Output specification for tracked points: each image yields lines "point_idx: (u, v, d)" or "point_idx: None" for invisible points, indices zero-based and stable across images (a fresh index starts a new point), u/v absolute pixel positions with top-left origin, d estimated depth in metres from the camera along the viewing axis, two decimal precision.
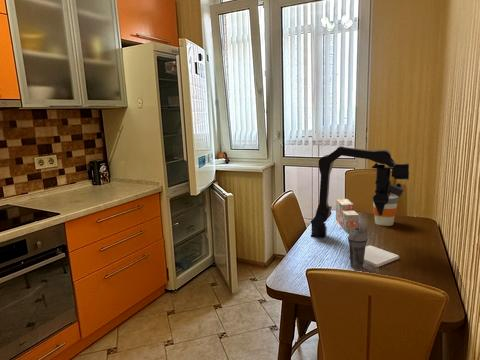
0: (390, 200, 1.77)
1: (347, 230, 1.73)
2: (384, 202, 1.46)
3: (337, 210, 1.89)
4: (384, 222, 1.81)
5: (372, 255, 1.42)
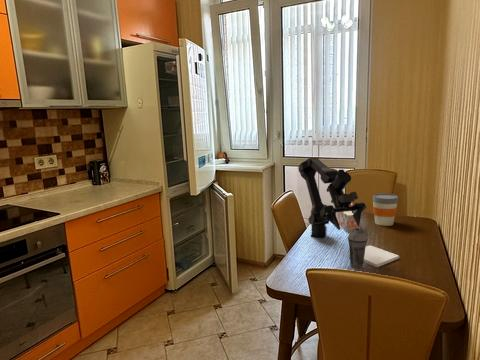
0: (390, 200, 1.77)
1: (348, 230, 1.73)
2: (327, 213, 1.41)
3: None
4: (384, 222, 1.81)
5: (372, 255, 1.42)
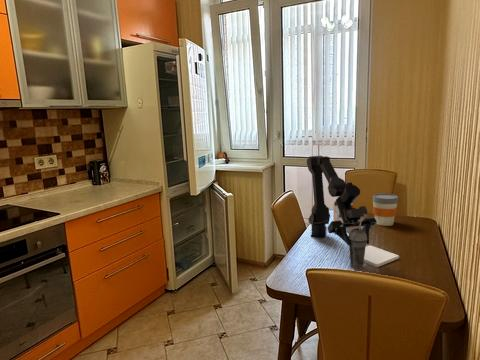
0: (390, 200, 1.77)
1: (349, 230, 1.72)
2: (337, 229, 1.33)
3: (335, 211, 1.88)
4: (384, 222, 1.81)
5: (372, 255, 1.42)
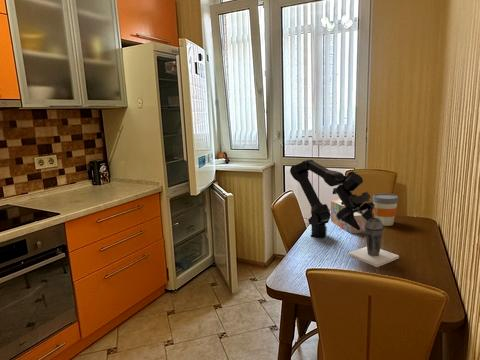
0: (390, 200, 1.77)
1: (352, 231, 1.71)
2: (346, 215, 1.42)
3: (334, 211, 1.87)
4: (384, 222, 1.81)
5: None
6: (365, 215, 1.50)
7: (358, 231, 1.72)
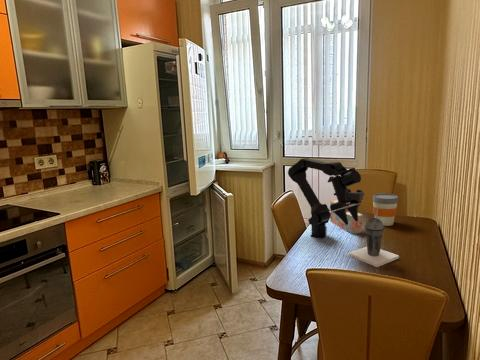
0: (390, 200, 1.77)
1: (352, 231, 1.71)
2: (341, 209, 1.47)
3: None
4: (384, 222, 1.81)
5: None
6: (351, 209, 1.57)
7: (358, 231, 1.72)
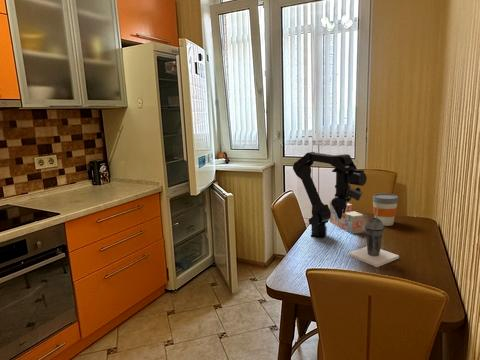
0: (390, 200, 1.77)
1: (353, 231, 1.71)
2: (342, 206, 1.48)
3: (333, 212, 1.86)
4: (384, 222, 1.81)
5: None
6: None
7: (359, 231, 1.72)
